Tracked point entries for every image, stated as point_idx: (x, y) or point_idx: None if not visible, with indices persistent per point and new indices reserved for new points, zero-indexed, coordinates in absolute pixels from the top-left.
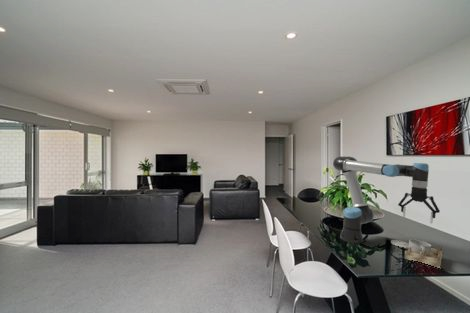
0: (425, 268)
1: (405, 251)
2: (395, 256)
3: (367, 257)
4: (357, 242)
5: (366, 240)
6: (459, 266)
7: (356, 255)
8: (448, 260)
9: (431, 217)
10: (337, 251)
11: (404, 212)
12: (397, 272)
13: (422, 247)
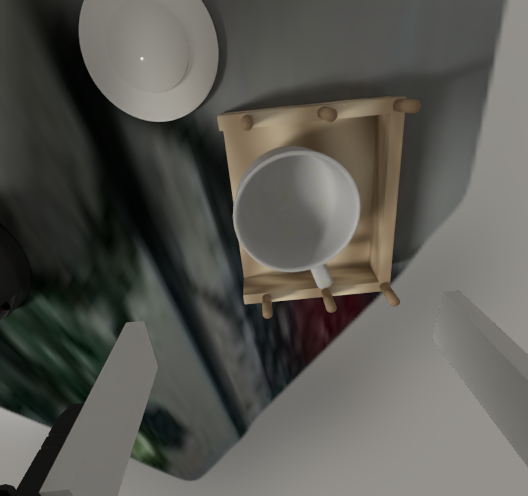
0: None
1: (247, 302)
2: (211, 291)
3: None
4: (23, 299)
5: (4, 196)
6: (454, 151)
7: None
8: None
9: (493, 406)
10: None
11: (134, 437)
12: (264, 408)
13: (320, 286)
